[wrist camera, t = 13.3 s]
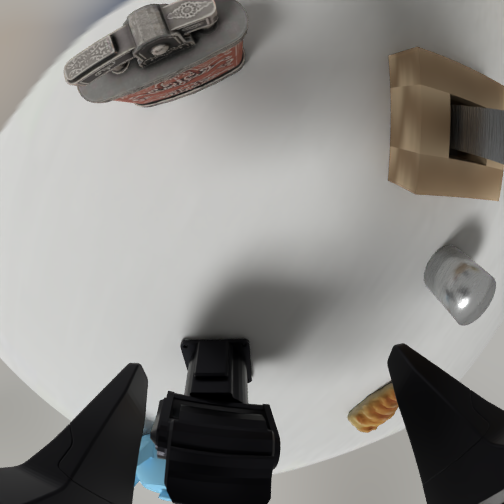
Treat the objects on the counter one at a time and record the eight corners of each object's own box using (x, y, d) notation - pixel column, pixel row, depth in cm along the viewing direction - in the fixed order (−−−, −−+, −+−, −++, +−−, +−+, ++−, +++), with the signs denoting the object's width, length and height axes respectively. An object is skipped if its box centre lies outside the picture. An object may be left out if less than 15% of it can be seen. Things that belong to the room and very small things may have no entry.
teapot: (127, 447, 39) (118, 493, 29) (130, 418, 33) (116, 478, 23) (204, 465, 42) (202, 511, 32) (227, 441, 36) (227, 500, 26)
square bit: (452, 147, 17) (542, 178, 9) (425, 142, 17) (521, 171, 8) (453, 111, 16) (545, 128, 7) (426, 103, 16) (524, 114, 7)
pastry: (384, 375, 30) (394, 397, 27) (413, 379, 32) (423, 398, 28) (342, 414, 34) (348, 435, 30) (373, 415, 35) (380, 434, 32)
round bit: (452, 287, 24) (483, 319, 19) (418, 292, 24) (448, 330, 19) (465, 243, 22) (502, 272, 17) (430, 246, 22) (469, 279, 16)
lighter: (235, 32, 14) (232, -43, 5) (251, 73, 15) (265, 23, 7) (126, 77, 15) (38, 55, 6) (140, 117, 16) (56, 121, 7)
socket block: (470, 187, 19) (498, 201, 16) (387, 180, 19) (415, 194, 15) (474, 85, 15) (505, 86, 11) (388, 55, 15) (417, 46, 11)
